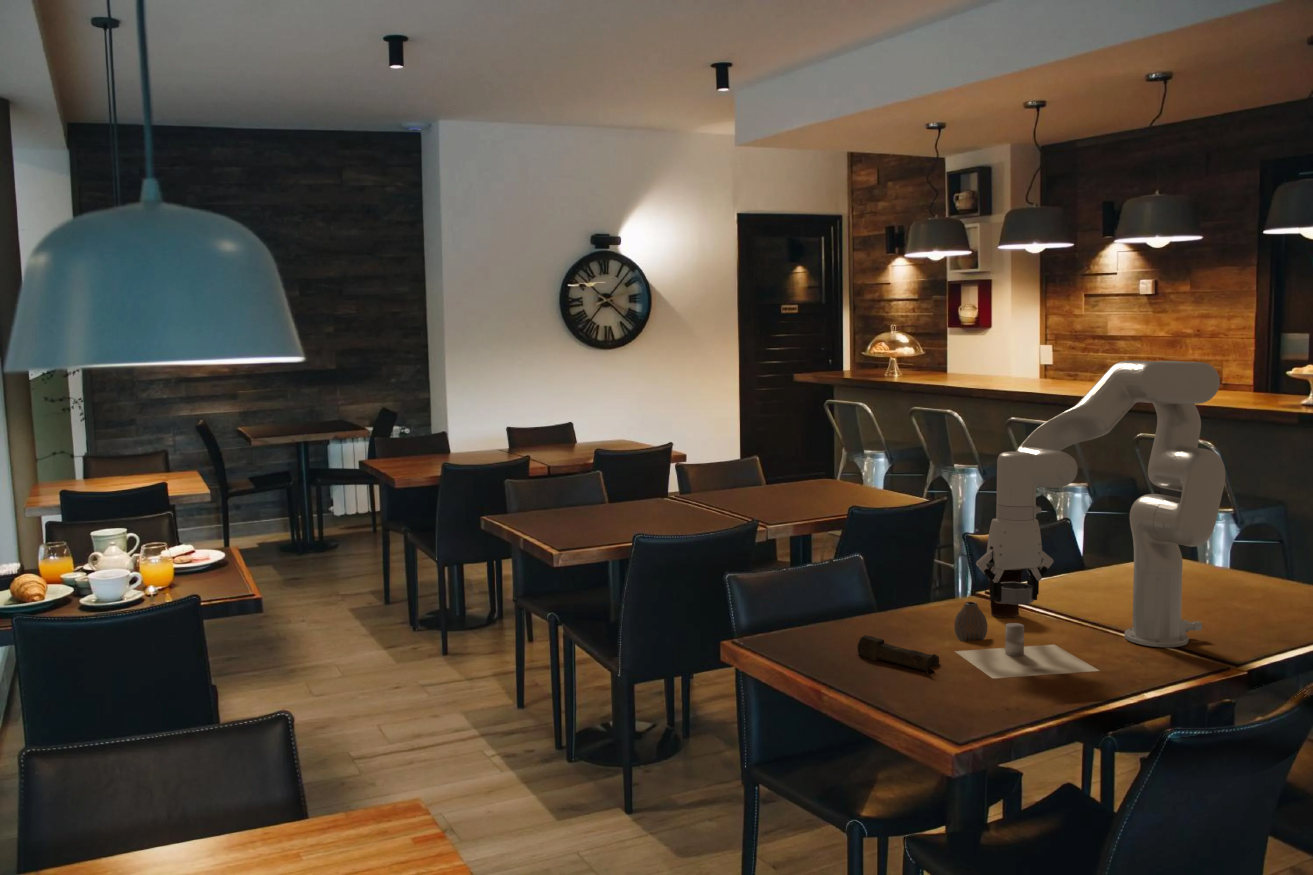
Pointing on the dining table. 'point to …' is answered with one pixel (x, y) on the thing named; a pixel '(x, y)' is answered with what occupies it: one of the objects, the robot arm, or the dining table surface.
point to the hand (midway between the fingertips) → (1014, 598)
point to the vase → (970, 623)
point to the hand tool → (896, 654)
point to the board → (1024, 658)
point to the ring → (1016, 593)
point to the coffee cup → (1003, 608)
